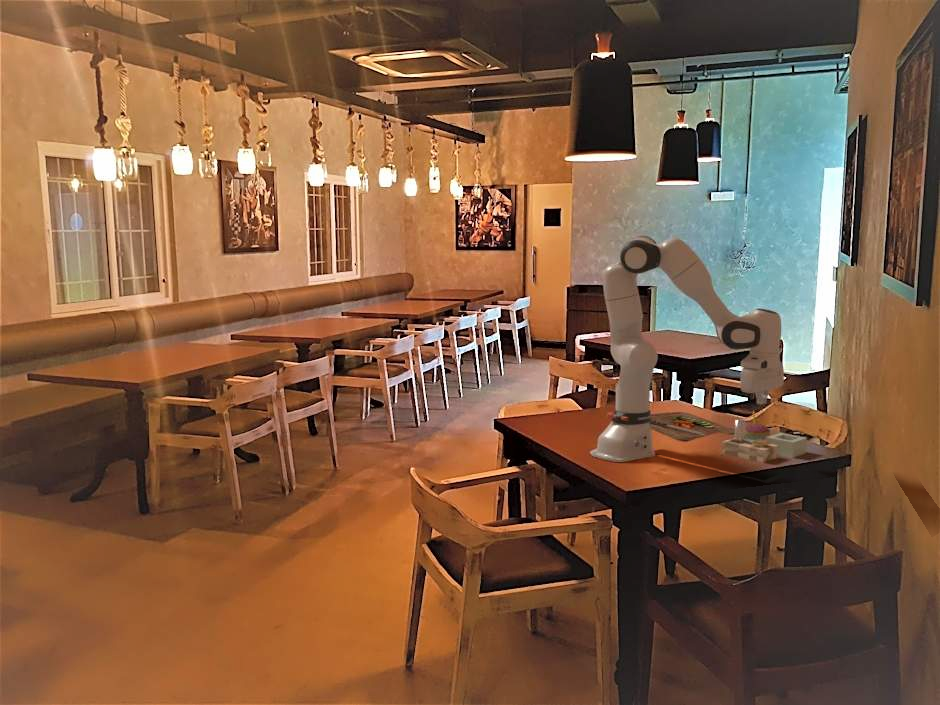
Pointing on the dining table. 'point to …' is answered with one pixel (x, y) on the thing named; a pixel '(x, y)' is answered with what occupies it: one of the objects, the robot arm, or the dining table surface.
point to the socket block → (750, 450)
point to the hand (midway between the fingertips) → (761, 403)
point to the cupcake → (756, 430)
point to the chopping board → (685, 426)
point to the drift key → (760, 443)
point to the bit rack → (789, 444)
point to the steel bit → (739, 431)
